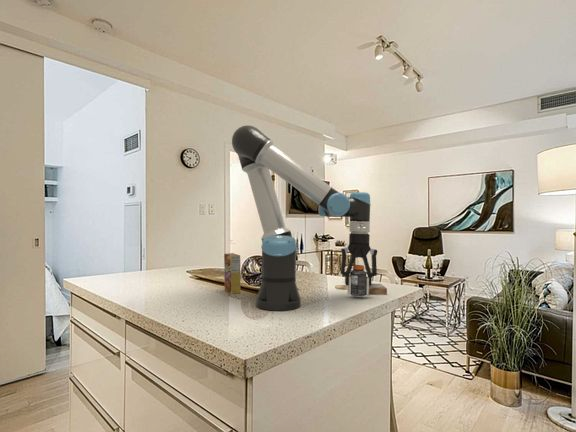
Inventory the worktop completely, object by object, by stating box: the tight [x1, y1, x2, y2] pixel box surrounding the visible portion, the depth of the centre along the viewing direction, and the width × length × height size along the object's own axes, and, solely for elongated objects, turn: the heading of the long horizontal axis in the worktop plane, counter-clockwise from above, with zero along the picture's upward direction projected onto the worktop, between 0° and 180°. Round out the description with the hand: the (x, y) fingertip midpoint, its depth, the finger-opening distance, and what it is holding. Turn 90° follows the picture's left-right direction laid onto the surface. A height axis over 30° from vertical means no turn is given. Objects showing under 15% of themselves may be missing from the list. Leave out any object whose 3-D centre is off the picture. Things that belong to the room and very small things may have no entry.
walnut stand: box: [369, 283, 388, 296], centre depth 136 cm, size 10×10×3 cm
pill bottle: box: [349, 264, 367, 298], centre depth 125 cm, size 6×6×11 cm
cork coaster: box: [334, 284, 348, 291], centre depth 144 cm, size 8×8×1 cm
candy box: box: [223, 252, 241, 295], centre depth 134 cm, size 9×4×15 cm, turn 28°
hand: (357, 294), depth 125 cm, fingers closed on pill bottle, 6 cm apart
